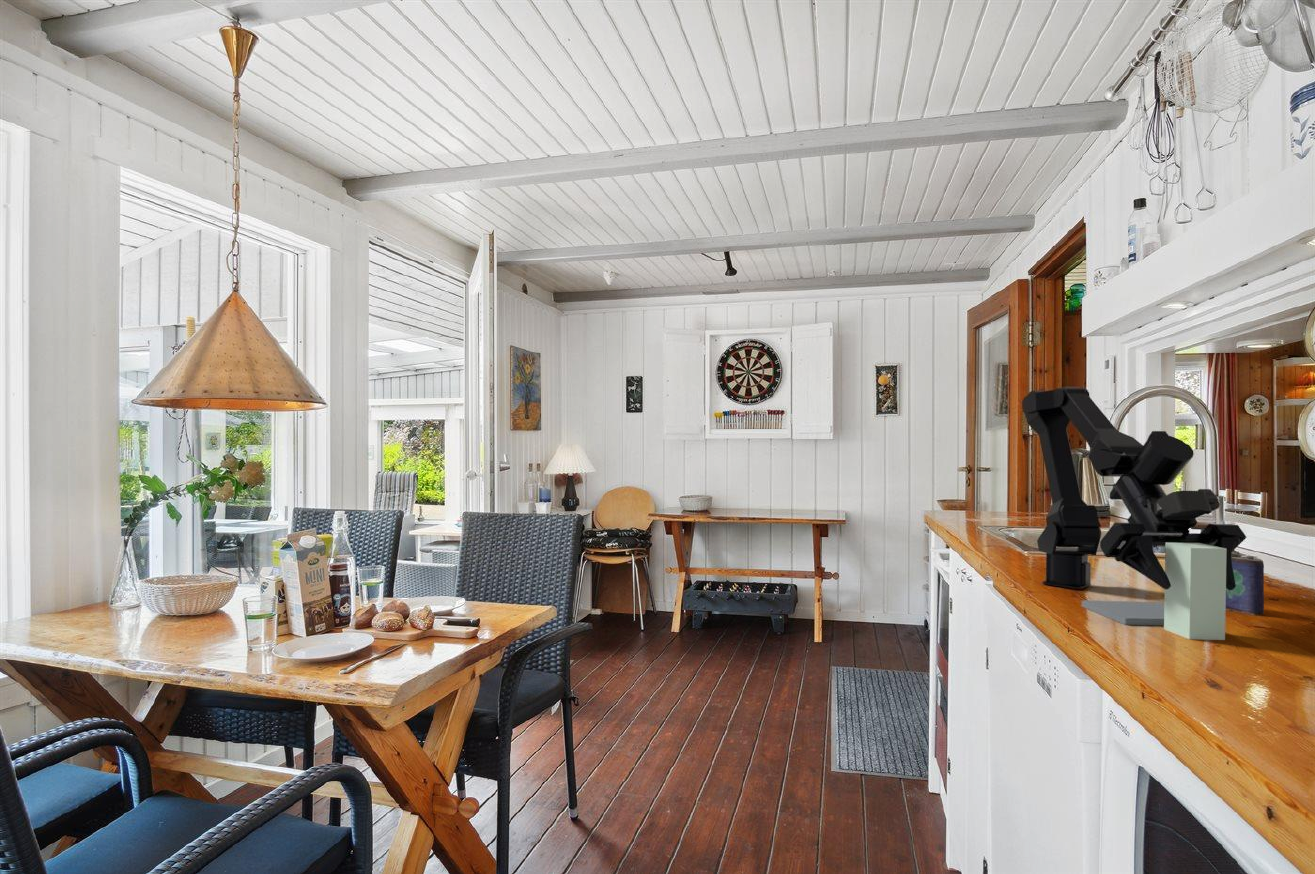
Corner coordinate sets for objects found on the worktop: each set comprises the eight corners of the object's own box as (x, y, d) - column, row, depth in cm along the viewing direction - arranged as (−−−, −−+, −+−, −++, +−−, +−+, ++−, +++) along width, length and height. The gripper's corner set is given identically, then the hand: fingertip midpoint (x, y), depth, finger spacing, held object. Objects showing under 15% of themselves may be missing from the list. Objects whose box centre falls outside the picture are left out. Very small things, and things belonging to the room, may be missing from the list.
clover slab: (1193, 603, 119) (1194, 541, 119) (1201, 601, 120) (1203, 540, 120) (1259, 616, 111) (1261, 550, 111) (1268, 614, 112) (1269, 549, 112)
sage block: (1164, 629, 103) (1165, 542, 103) (1197, 629, 103) (1199, 542, 103) (1189, 639, 98) (1190, 548, 98) (1224, 639, 98) (1226, 548, 98)
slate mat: (1081, 606, 116) (1081, 600, 116) (1165, 607, 116) (1165, 601, 116) (1125, 624, 105) (1125, 618, 105) (1218, 626, 105) (1218, 619, 105)
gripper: (1112, 469, 104) (1164, 554, 93) (1236, 471, 104) (1303, 556, 93) (1080, 515, 112) (1124, 598, 101) (1196, 516, 112) (1252, 600, 101)
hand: (1200, 588), depth 99 cm, fingers open, 9 cm apart
